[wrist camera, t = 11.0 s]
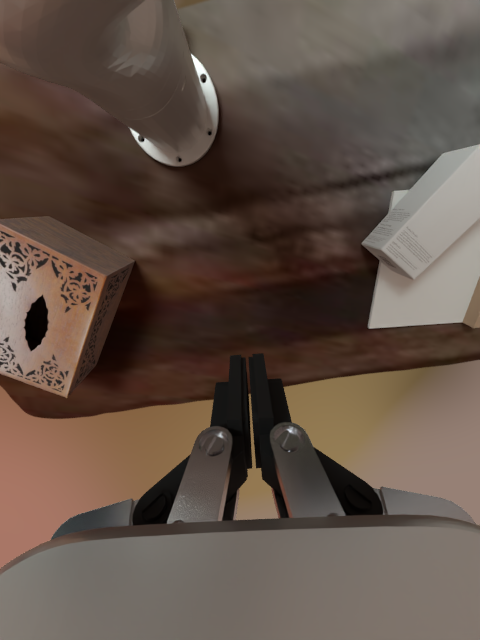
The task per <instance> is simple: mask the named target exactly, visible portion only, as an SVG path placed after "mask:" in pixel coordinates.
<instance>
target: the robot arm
mask: <svg viewBox="0 0 480 640" xmlns="http://www.w3.org/2000/svg"><path fill="white" fill-rule="evenodd" d="M0 63H2V64H4V65H6V66H8V67H10V68H13V69H15V70H17V71H20V72H22V73H25V74H27V75H30V76H33V77H36V78H39V79H42V80H45V81H48V82H51V83H55V84H58V85H62V86H65V87H68V88H71V89H73V90H75V91H77V92H79V93H80V94H82V95H84V96H85V97H87V98H88V99H90V100H91V101H93V102H94V103H96V104H97V105H98V106H100V107H101V108H102V109H104V110H105V111H107V112H108V113H109V114H111V115H112V116H114V117H115V118H117V119H118V120H119V121H121V122H122V123H124V124H125V125H127V126H128V127H129V128H130V131H131V133H132V135H133V137H134V138H135V140H136V141H137V143H138V144H139V146H140V147H141V148H142V149H143V150H144V151H145V152H146V153H147V154H148V155H149V156H151V157H152V158H153V159H155V160H157V161H158V162H161V163H163V164H165V165H168V166H174V167H184V166H187V165H191V164H193V163H195V162H197V161H198V160H200V159H201V158H202V157H203V156H204V155H205V154H206V153H207V151H208V150H209V149H210V147H211V145H212V143H213V141H214V139H215V136H216V133H217V129H218V122H219V106H218V100H217V95H216V91H215V87H214V85H213V83H212V80H211V78H210V76H209V74H208V72H207V71H206V69H205V67H204V66H203V65H202V63H201V62H200V61H199V60H198V59H197V58H196V57H195V56H194V55H193V54H191V52H190V49H189V46H188V43H187V40H186V37H185V34H184V30H183V27H182V24H181V21H180V18H179V15H178V12H177V9H176V6H175V3H174V0H0ZM204 79H206V82H205V83H203V80H204ZM209 132H212V135H208V133H209ZM143 138H144V142H142V139H143ZM180 158H181V159H182V161H181V162H179V159H180ZM249 371H250V387H251V404H252V420H253V433H254V445H255V458H256V468H261V471H262V479H263V480H264V481H265V482H266V483H267V484H268V485H270V486H271V488H272V494H273V498H274V502H275V506H276V510H277V513H278V518H279V519H256V520H236V514H237V505H238V499H239V488H240V487H241V485H242V484H243V483H244V482H245V481H246V480H247V477H248V475H247V469H249V468H252V455H251V435H250V413H249V396H248V384H247V372H246V360H245V358H241V355H233V356H230V369H229V382H218V383H216V387H215V394H214V402H213V410H212V417H211V425H210V427H209V428H207V429H205V430H203V431H202V432H201V433H200V434H199V435H198V437H197V439H196V441H195V444H194V446H193V449H192V452H191V454H190V455H189V456H188V457H187V458H186V459H185V460H183V461H182V462H181V463H180V464H179V465H178V466H176V467H175V468H174V469H173V470H172V471H171V472H169V473H168V474H167V475H166V476H165V477H163V478H162V479H161V480H160V481H159V482H158V483H157V484H155V485H154V486H153V487H152V488H151V489H149V490H148V491H147V492H146V493H145V494H144V495H143V496H142V497H141V498H140V499H139V500H135V501H133V499H128V500H125V501H122V502H118V503H115V504H112V505H109V506H105V507H102V508H98V509H95V510H92V511H89V512H85V513H82V514H78V515H76V516H74V517H72V518H70V519H68V520H67V521H66V522H64V523H63V524H62V525H61V526H60V527H59V528H58V530H57V531H56V532H55V533H54V535H53V536H52V538H51V540H50V541H47V542H45V543H43V544H40V545H39V546H37V547H35V548H33V549H31V550H29V551H27V552H25V553H23V554H21V555H20V556H18V557H16V558H15V559H13V560H12V561H10V562H9V563H7V564H6V565H4V566H3V567H2V568H1V569H0V640H480V525H477V524H476V523H475V522H474V521H473V519H472V518H471V517H470V515H469V514H468V513H467V512H465V511H464V510H463V509H462V508H461V507H459V506H458V505H456V504H455V503H453V502H452V501H449V500H446V499H443V498H438V497H433V496H428V495H422V494H417V493H412V492H407V491H402V490H396V489H391V488H386V487H381V488H380V489H375V488H372V487H371V486H370V485H368V484H367V483H366V482H365V481H363V480H362V479H360V478H359V477H357V476H356V475H354V474H353V473H351V472H350V471H348V470H347V469H345V468H344V467H342V466H341V465H339V464H338V463H336V462H335V461H334V460H332V459H331V458H329V457H328V456H326V455H325V454H323V453H322V452H320V451H319V450H317V449H316V448H314V447H313V445H312V443H311V441H310V439H309V437H308V435H307V433H306V432H305V431H304V429H303V428H302V427H300V426H299V425H297V424H295V423H292V422H291V417H290V413H289V409H288V405H287V401H286V397H285V392H284V388H283V384H282V380H281V379H267V374H266V368H265V361H264V355H263V354H253V357H249Z"/></svg>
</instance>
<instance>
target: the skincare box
mask: <svg viewBox="0 0 480 640" xmlns="http://www.w3.org/2000/svg"><path fill="white" fill-rule="evenodd" d="M479 219H480V144H479V145H475V146H471V147H467V148H463V149H459V150H455V151H450V152H446V153H443V154H442V155H441V156H440V157H439V158H438V159H437V160H436V162H435V163H434V164H433V165H432V166H431V167H430V168H429V169H428V170H427V172H426V173H425V174H424V175H423V176H422V177H421V178H420V179H419V180H418V181H417V183H416V184H415V185H414V186H413V187H412V188H411V189H410V190H409V191H408V192H407V194H406V195H405V196H404V197H403V198H402V199H401V200H400V201H399V202H398V204H397V205H396V206H395V207H394V208H393V209H392V210H391V211H390V212H389V213H388V215H387V216H386V217H385V218H384V219H383V220H382V221H381V222H380V223H379V224H378V226H377V227H376V228H375V229H374V230H373V231H372V232H371V233H370V234H369V236H368V237H367V238H366V239H365V240H364V241H363V242H362V245H363V246H364V247H365V248H366V249H367V250H369V251H370V252H371V253H372V254H373V255H374V256H375V257H377V258H378V259H379V260H380V261H381V262H382V263H383V264H385V265H386V266H387V267H388V268H389V269H390V270H392V271H393V272H395V273H398V274H400V275H402V276H405V277H407V278H410V279H413V280H415V279H416V278H417V277H418V276H419V275H420V274H421V273H422V272H423V271H424V270H425V269H426V268H428V267H429V266H430V265H431V264H432V263H433V262H434V261H435V260H436V259H437V258H438V257H439V256H440V255H441V254H442V253H443V252H445V251H446V250H447V249H448V248H449V247H450V246H451V245H452V244H453V243H454V242H455V241H456V240H457V239H458V238H460V237H461V236H462V235H463V234H464V233H465V232H466V231H467V230H468V229H469V228H470V227H471V226H472V225H473V224H475V223H476V222H477V221H478V220H479Z"/></svg>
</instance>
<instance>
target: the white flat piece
mask: <svg viewBox="0 0 480 640" xmlns="http://www.w3.org/2000/svg"><path fill="white" fill-rule="evenodd" d="M408 191H409V190H401V191H392V195H391V200H390V206H389V211H388V213H389V212H390V211H391V210H392V209H393V208H394V207H395V206H396V205H397V204H398V202H399V201H400V200H401V199H402V198H403V197H404V196H405V195H406V194H407V192H408ZM459 322H463V323H465V324H467V325H469V326H470V327H472V328H480V219H479V220H478V221H477V222H476V223H475V224H473V225H472V226H471V227H470V228H469V229H468V230H467V231H466V232H465V233H464V234H463V235H462V236H461V237H460V238H458V239H457V240H456V241H455V242H454V243H453V244H452V245H451V246H450V247H449V248H448V249H447V250H446V251H445V252H443V253H442V254H441V255H440V256H439V257H438V258H437V259H436V260H435V261H434V262H433V263H432V264H431V265H430V266H429V267H428V268H426V269H425V270H424V271H423V272H422V273H421V274H420V275H419V276H418V277H417V278H416V279H415V280H413V279H410V278H407V277H405V276H402V275H400V274H398V273H395V272H393V271H392V270H390V269H389V268H388V267H387V266H386V265H385V264H383V263H382V262H381V261H379V267H378V272H377V278H376V283H375V289H374V294H373V300H372V305H371V311H370V316H369V322H368V328H369V329H372V328H386V327H401V326H415V325H430V324H444V323H459Z"/></svg>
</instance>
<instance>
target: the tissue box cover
mask: <svg viewBox="0 0 480 640" xmlns="http://www.w3.org/2000/svg"><path fill="white" fill-rule="evenodd" d="M134 262H135V260H133V259H131V258H129V257H127V256H125V255H123V254H121V253H119V252H117V251H115V250H113V249H111V248H109V247H107V246H106V245H104V244H102V243H100V242H98V241H96V240H94V239H92V238H90V237H88V236H86V235H84V234H82V233H80V232H78V231H76V230H75V229H73V228H71V227H69V226H67V225H65V224H63V223H61V222H59V221H57V220H55V219H53V218H51V217H49V216H45V217H29V218H12V219H0V374H2V375H5V376H8V377H11V378H14V379H16V380H19V381H22V382H25V383H27V384H30V385H33V386H36V387H38V388H41V389H44V390H47V391H50V392H52V393H55V394H58V395H61V396H63V397H66V398H67V397H68V396H69V395H70V394H71V393H72V392H73V390H74V389H75V388H76V387H77V386H78V385H79V384H80V383H81V381H82V380H83V379H84V378H85V377H86V376H87V375H88V374H89V373H90V371H91V370H92V369H93V368H94V367H95V366H96V365H97V362H98V359H99V357H100V354H101V351H102V349H103V346H104V343H105V340H106V338H107V335H108V332H109V330H110V327H111V324H112V322H113V319H114V316H115V314H116V311H117V308H118V305H119V303H120V300H121V297H122V295H123V292H124V289H125V287H126V284H127V281H128V279H129V276H130V273H131V270H132V268H133V265H134ZM27 336H28V337H27ZM32 338H33V339H32ZM37 340H38V341H37Z"/></svg>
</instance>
